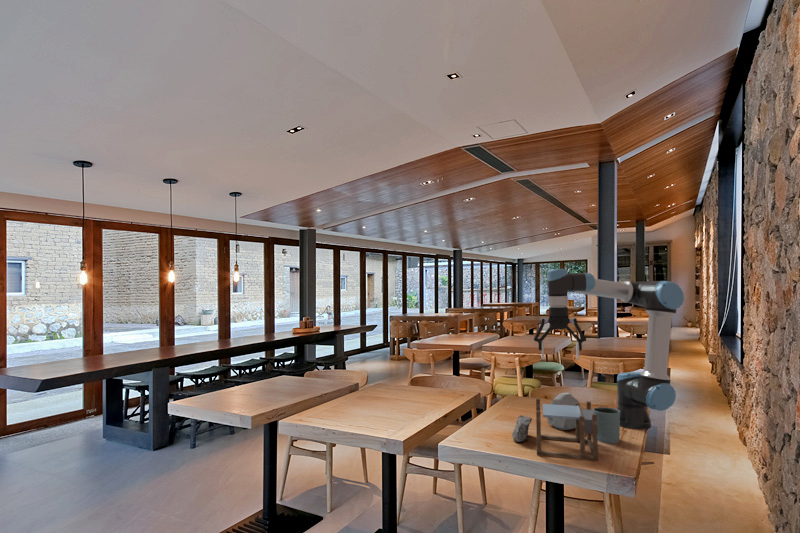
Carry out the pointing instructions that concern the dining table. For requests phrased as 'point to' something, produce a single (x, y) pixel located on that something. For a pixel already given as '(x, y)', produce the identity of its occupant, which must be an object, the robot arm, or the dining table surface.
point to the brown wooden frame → (579, 437)
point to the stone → (562, 422)
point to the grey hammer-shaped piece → (570, 414)
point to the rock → (521, 429)
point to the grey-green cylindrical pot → (608, 424)
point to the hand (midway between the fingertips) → (560, 358)
